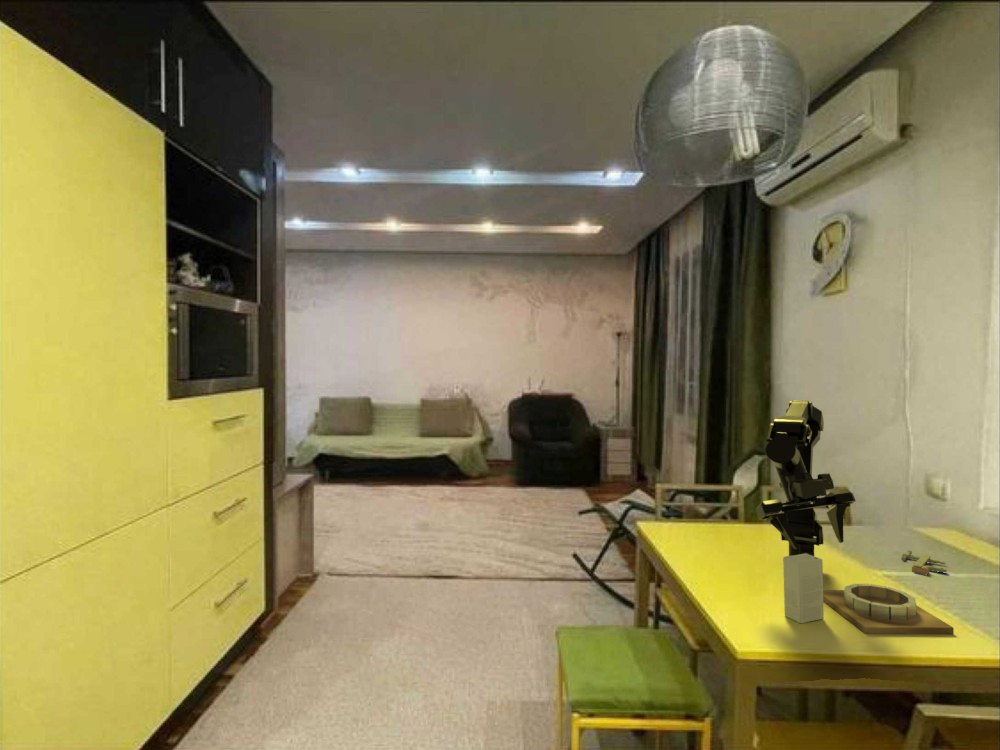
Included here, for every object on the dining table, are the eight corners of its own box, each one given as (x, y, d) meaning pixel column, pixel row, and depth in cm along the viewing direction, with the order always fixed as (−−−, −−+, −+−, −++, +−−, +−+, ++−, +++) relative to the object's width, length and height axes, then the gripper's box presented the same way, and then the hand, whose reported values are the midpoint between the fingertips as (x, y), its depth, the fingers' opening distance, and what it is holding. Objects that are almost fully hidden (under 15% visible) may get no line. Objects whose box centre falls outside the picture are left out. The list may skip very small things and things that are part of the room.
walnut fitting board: (816, 595, 125) (815, 590, 125) (891, 595, 125) (891, 590, 124) (865, 633, 107) (865, 627, 107) (953, 633, 107) (953, 627, 106)
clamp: (942, 571, 134) (892, 561, 141) (943, 580, 134) (892, 570, 141) (954, 556, 144) (906, 547, 152) (954, 564, 144) (906, 555, 152)
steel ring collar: (832, 595, 122) (832, 583, 122) (890, 595, 122) (890, 583, 122) (866, 620, 110) (866, 607, 110) (930, 620, 110) (930, 607, 110)
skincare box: (806, 611, 117) (806, 552, 117) (824, 619, 113) (823, 559, 113) (783, 615, 115) (782, 556, 115) (800, 624, 111) (799, 562, 111)
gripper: (758, 468, 120) (784, 544, 112) (850, 454, 118) (882, 530, 111) (746, 483, 130) (769, 554, 122) (830, 471, 128) (859, 542, 121)
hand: (818, 545), depth 119 cm, fingers open, 9 cm apart
